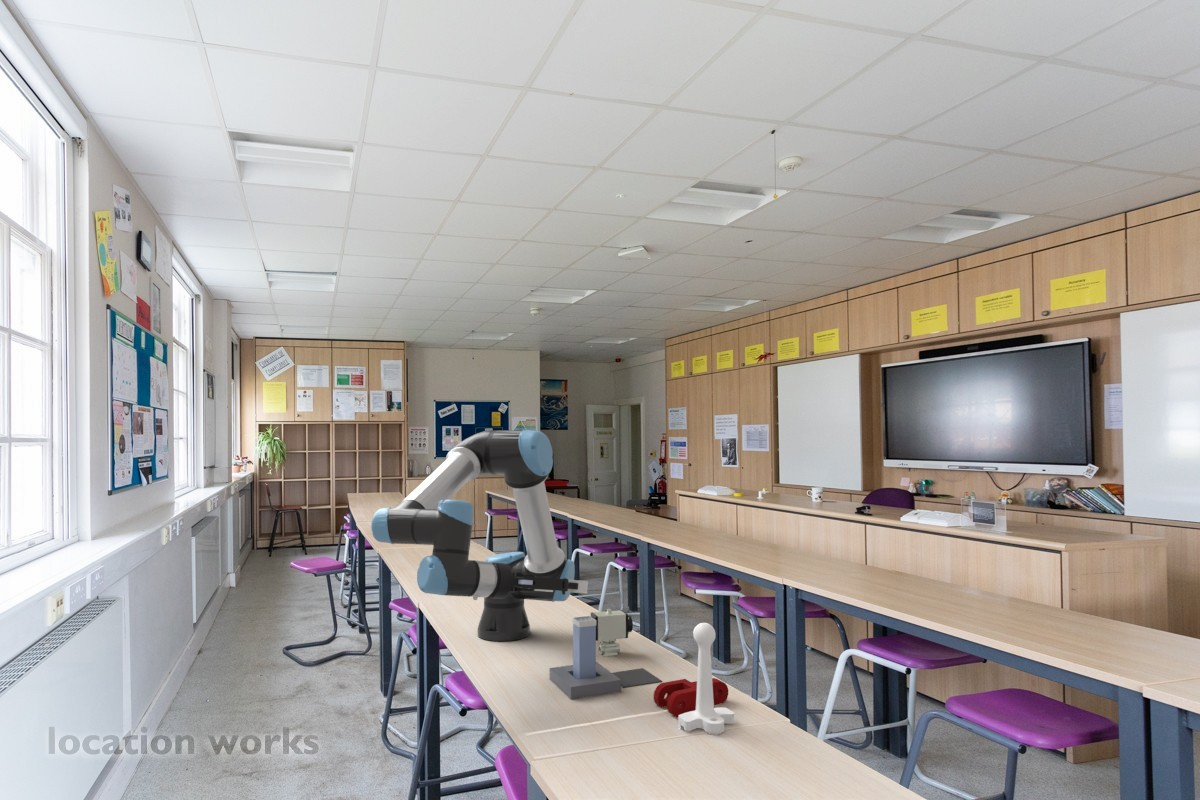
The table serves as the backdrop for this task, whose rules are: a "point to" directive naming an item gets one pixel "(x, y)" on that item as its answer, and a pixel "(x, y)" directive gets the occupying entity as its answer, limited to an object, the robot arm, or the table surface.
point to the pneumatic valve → (611, 630)
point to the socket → (585, 682)
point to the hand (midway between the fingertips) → (569, 586)
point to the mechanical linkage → (686, 695)
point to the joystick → (705, 689)
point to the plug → (584, 647)
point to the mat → (636, 677)
